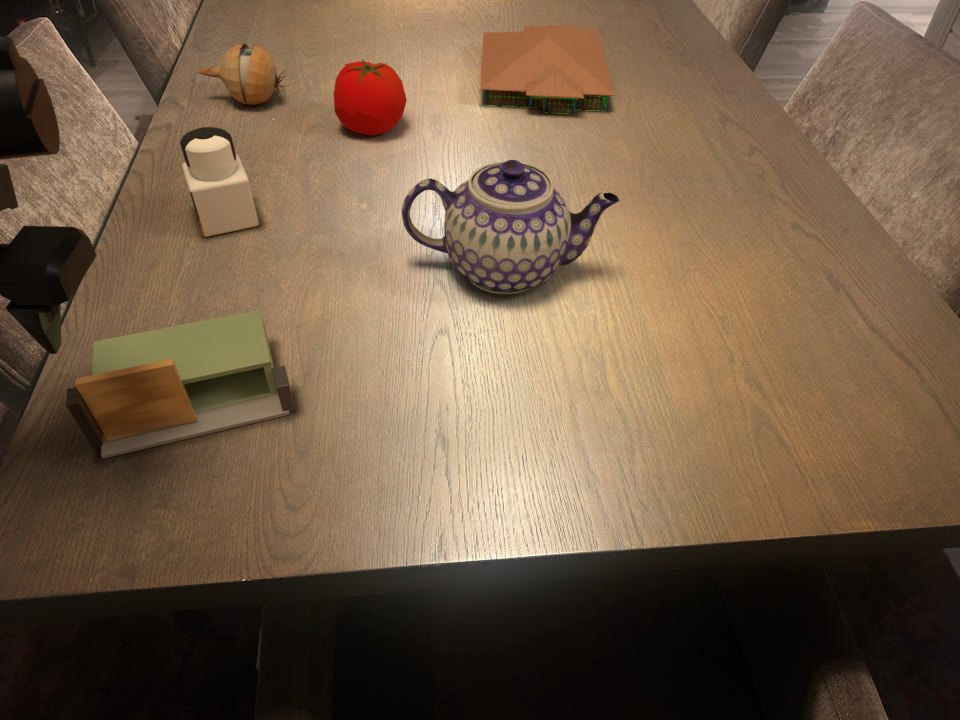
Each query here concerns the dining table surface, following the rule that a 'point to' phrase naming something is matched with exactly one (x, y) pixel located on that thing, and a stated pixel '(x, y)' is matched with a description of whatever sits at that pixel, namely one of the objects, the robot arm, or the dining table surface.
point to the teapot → (508, 226)
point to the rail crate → (204, 375)
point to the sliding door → (129, 402)
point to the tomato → (369, 97)
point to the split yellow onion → (247, 74)
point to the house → (546, 64)
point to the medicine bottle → (217, 182)
